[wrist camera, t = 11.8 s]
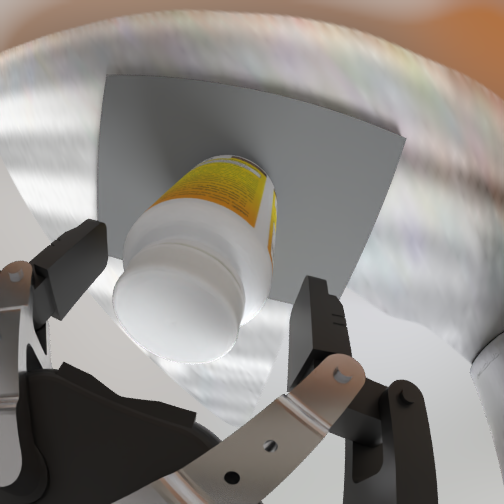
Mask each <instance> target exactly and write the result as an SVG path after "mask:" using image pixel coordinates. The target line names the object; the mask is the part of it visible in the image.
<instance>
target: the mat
mask: <svg viewBox="0 0 504 504" xmlns="http://www.w3.org/2000/svg"><path fill="white" fill-rule="evenodd" d="M405 141H406V138H404V137H402V136H400V135H397V134H395V133H393V132H390V131H388V130H386V129H383V128H381V127H378V126H376V125H373V124H371V123H368V122H365V121H363V120H360V119H357V118H354V117H352V116H349V115H346V114H343V113H340V112H337V111H334V110H331V109H328V108H324V107H321V106H318V105H315V104H311V103H308V102H304V101H300V100H297V99H293V98H289V97H285V96H281V95H277V94H273V93H268V92H264V91H259V90H255V89H250V88H245V87H239V86H234V85H228V84H222V83H215V82H209V81H201V80H193V79H184V78H174V77H162V76H145V75H107V77H106V83H105V90H104V97H103V105H102V114H101V124H100V135H99V151H98V179H97V203H98V221H99V222H103V223H105V224H106V227H107V244H108V256H111V257H114V258H117V259H121V260H123V249H124V244H125V241H126V238H127V235H128V233H129V231H130V229H131V228H132V226H133V224H134V223H135V222H136V221H137V220H138V218H139V217H140V216H141V215H142V214H143V213H144V212H145V211H146V210H147V209H148V208H149V207H150V206H152V205H153V204H154V203H155V202H156V201H157V200H158V199H159V198H160V197H161V196H162V195H163V194H164V193H166V192H167V191H168V190H169V189H170V188H171V187H172V186H173V185H175V184H176V183H177V182H178V181H179V180H180V179H181V178H182V177H184V176H185V175H186V174H187V173H188V172H189V171H191V170H192V169H193V168H194V167H195V166H197V165H198V164H199V163H201V162H203V161H204V160H206V159H209V158H211V157H215V156H220V155H235V156H240V157H243V158H245V159H248V160H250V161H252V162H254V163H255V164H257V165H258V166H259V167H260V168H261V169H263V170H264V171H265V173H266V174H267V175H268V176H269V178H270V179H271V181H272V183H273V185H274V188H275V191H276V196H277V221H276V235H275V248H274V263H273V275H272V282H271V288H270V292H269V295H268V299H272V300H277V301H281V302H285V303H290V304H294V303H295V301H296V298H297V296H298V293H299V291H300V288H301V286H302V283H303V281H304V278H305V277H306V275H309V276H313V277H317V278H321V279H325V280H326V281H327V286H328V293H329V294H330V295H335V296H336V297H337V298H338V299H340V297H341V295H342V293H343V291H344V289H345V287H346V285H347V283H348V281H349V279H350V277H351V275H352V273H353V271H354V269H355V267H356V265H357V263H358V260H359V258H360V256H361V254H362V252H363V249H364V247H365V245H366V243H367V240H368V238H369V236H370V234H371V231H372V229H373V227H374V224H375V222H376V219H377V217H378V215H379V212H380V210H381V207H382V205H383V202H384V200H385V197H386V195H387V192H388V189H389V187H390V184H391V181H392V179H393V176H394V173H395V171H396V168H397V165H398V162H399V159H400V156H401V153H402V150H403V147H404V144H405Z"/></svg>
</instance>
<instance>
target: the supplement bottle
mask: <svg viewBox="0 0 504 504" xmlns="http://www.w3.org/2000/svg"><path fill="white" fill-rule="evenodd" d="M276 221H277V196H276V191H275V188H274V185H273V183H272V181H271V179H270V178H269V176H268V175H267V174H266V173H265V171H264V170H263V169H261V168H260V167H259V166H258V165H257V164H255V163H254V162H252V161H250V160H248V159H245V158H243V157H240V156H235V155H220V156H215V157H211V158H209V159H206V160H204V161H203V162H201V163H199V164H198V165H197V166H195V167H194V168H193V169H192V170H191V171H189V172H188V173H187V174H186V175H185V176H184V177H182V178H181V179H180V180H179V181H178V182H177V183H176V184H175V185H173V186H172V187H171V188H170V189H169V190H168V191H167V192H166V193H164V194H163V195H162V196H161V197H160V198H159V199H158V200H157V201H156V202H155V203H154V204H153V205H152V206H150V207H149V208H148V209H147V210H146V211H145V212H144V213H143V214H142V215H141V216H140V217H139V218H138V220H137V221H136V222H135V223H134V224H133V226H132V228H131V229H130V231H129V233H128V235H127V238H126V241H125V244H124V249H123V267H124V272H123V274H122V275H121V276H120V277H119V279H118V281H117V282H116V284H115V287H114V290H113V308H114V311H115V314H116V317H117V319H118V321H119V323H120V324H121V326H122V327H123V329H124V330H125V331H126V333H127V334H128V335H129V336H130V337H131V338H132V339H133V340H134V341H135V342H136V343H137V344H139V345H140V346H141V347H143V348H144V349H146V350H147V351H149V352H151V353H152V354H154V355H157V356H159V357H161V358H164V359H166V360H169V361H173V362H177V363H183V364H203V363H208V362H212V361H215V360H217V359H219V358H221V357H222V356H224V355H226V354H227V353H228V352H229V351H230V350H231V348H232V347H233V345H234V344H235V342H236V339H237V337H238V332H239V327H240V326H242V325H244V324H245V323H247V322H248V321H250V320H251V319H252V318H253V317H254V316H255V315H256V314H257V313H258V312H259V311H260V310H261V308H262V307H263V305H264V304H265V302H266V300H267V298H268V295H269V292H270V288H271V282H272V275H273V263H274V248H275V235H276Z"/></svg>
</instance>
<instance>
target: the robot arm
mask: <svg viewBox="0 0 504 504" xmlns="http://www.w3.org/2000/svg"><path fill="white" fill-rule="evenodd" d="M107 261H108V244H107V227H106V224H105V223H103V222H99V221H96V220H92V219H87V220H86V221H84V222H83V223H82V224H80V225H79V226H78V227H77V228H74V229H72V230H69V231H67V232H65V233H64V234H62V235H61V236H60V237H59V238H57V240H55V241H54V242H52V243H51V245H49V246H48V247H47V248H45V249H44V250H43V251H42V252H40V253H39V254H38V255H37V256H36V257H35V258H34V259H32V260H31V261H30V262H29V263H28V262H26V261H15V262H12V263H10V264H8V265H7V266H5V267H4V268H3V270H2V271H0V504H263V503H262V501H261V500H262V499H264V498H265V497H266V496H267V495H268V494H269V493H270V492H272V491H273V490H274V489H275V488H276V487H277V486H278V485H279V484H280V483H281V482H282V481H283V480H284V479H285V478H286V477H287V476H289V474H291V473H292V472H293V470H295V468H297V466H298V465H299V464H300V463H301V462H302V461H303V460H304V459H305V458H306V457H307V456H308V455H309V454H310V453H311V452H312V451H313V450H314V448H315V447H316V446H317V445H318V444H319V443H320V442H321V440H322V439H323V438H324V437H325V436H326V435H327V433H328V432H330V433H333V434H335V435H338V436H340V437H343V438H345V478H344V495H343V496H344V497H343V504H438V492H437V480H436V470H435V462H434V455H433V447H432V440H431V435H430V428H429V422H428V417H427V412H426V407H425V402H424V398H423V395H422V393H421V391H420V390H419V389H418V387H417V386H415V385H414V384H413V383H411V382H409V381H407V380H396V381H394V382H393V383H392V384H391V385H390V386H389V387H387V386H384V385H382V384H379V383H377V382H374V381H372V380H370V379H368V378H366V376H365V372H364V369H363V367H362V366H361V365H360V363H359V362H358V361H356V360H355V359H354V358H352V353H351V347H350V341H349V336H348V330H347V327H346V319H345V314H344V310H343V305H342V304H341V302H340V301H339V299H338V298H337V297H336V296H335V295H330V294H329V293H328V286H327V281H326V280H325V279H321V278H317V277H313V276H309V275H306V277H305V278H304V281H303V283H302V286H301V288H300V291H299V293H298V296H297V298H296V301H295V303H294V305H293V308H292V312H291V316H290V329H289V359H288V383H287V392H290V393H288V394H287V395H285V394H283V395H281V396H280V397H278V398H277V399H276V400H274V401H273V402H272V403H271V404H270V405H268V406H267V407H266V408H265V409H264V410H262V411H261V412H260V413H259V414H257V415H256V416H255V417H254V418H252V419H251V420H250V421H248V422H247V423H246V424H245V425H243V426H242V427H241V428H239V429H238V430H237V431H235V432H234V433H233V434H232V435H230V436H229V437H227V438H226V439H225V440H223V441H221V440H220V439H219V438H218V437H217V436H216V435H215V434H213V433H212V432H211V431H210V430H208V429H207V428H205V427H204V426H202V425H200V424H198V423H197V422H195V419H196V412H192V411H189V410H185V409H182V408H179V407H175V406H172V405H169V404H166V403H162V402H159V401H148V400H141V399H133V398H126V397H121V396H119V395H117V394H115V393H114V392H113V391H111V390H110V389H109V388H108V387H106V386H105V385H104V384H102V383H101V382H100V381H98V380H97V379H96V378H94V377H93V376H92V375H90V374H88V373H86V372H84V371H81V370H80V369H77V368H75V367H73V366H71V365H69V364H67V363H65V362H63V364H62V365H61V367H60V368H59V370H57V369H53V368H52V364H51V353H50V334H49V323H48V319H49V318H50V316H52V317H54V318H56V319H58V320H60V321H61V320H62V319H63V318H64V317H65V315H66V314H67V313H68V312H69V310H70V309H71V308H72V307H73V306H74V304H75V303H76V302H77V301H78V299H79V298H80V297H81V296H82V294H83V293H84V292H85V291H86V290H87V289H88V288H89V286H90V285H91V284H92V283H93V282H94V281H95V279H96V278H97V277H98V276H99V275H100V274H101V273H102V272H103V270H104V269H105V267H106V265H107ZM470 374H471V377H472V380H473V382H474V385H475V387H476V390H477V392H478V395H479V398H480V401H481V404H482V406H483V409H484V412H485V415H486V418H487V421H488V424H489V427H490V431H491V434H492V438H493V441H494V445H495V448H496V452H497V456H498V460H499V464H500V469H501V473H502V478H503V483H504V333H502V334H501V335H499V336H498V337H497V338H495V339H494V340H493V341H492V342H491V343H489V344H488V345H487V346H486V347H485V348H484V349H483V350H482V352H481V353H480V354H479V355H478V356H477V358H476V359H475V361H474V362H473V364H472V366H471V369H470Z"/></svg>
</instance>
